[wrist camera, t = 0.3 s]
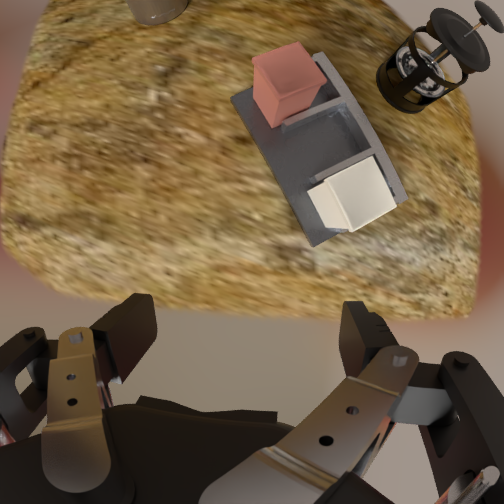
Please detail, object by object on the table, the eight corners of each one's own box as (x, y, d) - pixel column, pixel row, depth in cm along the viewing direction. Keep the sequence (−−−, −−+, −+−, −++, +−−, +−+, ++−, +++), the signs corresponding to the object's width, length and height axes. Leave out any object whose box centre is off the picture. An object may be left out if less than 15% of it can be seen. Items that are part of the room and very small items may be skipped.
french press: (406, 127, 36) (512, 69, 13) (361, 81, 36) (441, -11, 13) (439, 91, 36) (529, 35, 13) (400, 49, 35) (473, -27, 12)
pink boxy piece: (271, 130, 35) (279, 99, 25) (250, 97, 34) (252, 58, 24) (308, 114, 34) (327, 80, 24) (287, 81, 34) (298, 41, 24)
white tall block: (324, 229, 36) (352, 232, 26) (304, 190, 35) (325, 178, 25) (360, 210, 36) (396, 206, 26) (341, 172, 35) (372, 155, 25)
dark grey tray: (310, 246, 38) (319, 249, 33) (230, 101, 36) (228, 87, 31) (395, 199, 37) (411, 196, 33) (318, 65, 35) (325, 50, 31)
